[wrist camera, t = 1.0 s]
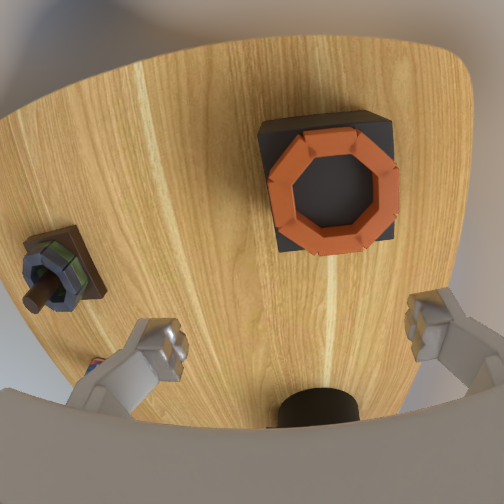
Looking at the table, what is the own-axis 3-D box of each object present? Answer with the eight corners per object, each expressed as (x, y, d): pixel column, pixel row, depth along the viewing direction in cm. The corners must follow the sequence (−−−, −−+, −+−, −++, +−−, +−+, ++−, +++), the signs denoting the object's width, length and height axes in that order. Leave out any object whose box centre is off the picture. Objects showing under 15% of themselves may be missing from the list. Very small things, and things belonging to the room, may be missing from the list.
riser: (262, 121, 22) (257, 134, 17) (367, 110, 21) (392, 120, 16) (279, 216, 27) (278, 252, 22) (373, 205, 25) (394, 239, 20)
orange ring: (260, 137, 17) (259, 141, 16) (389, 124, 16) (397, 127, 15) (281, 250, 22) (281, 261, 20) (391, 237, 20) (397, 247, 19)
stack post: (29, 237, 31) (-10, 273, 24) (76, 224, 29) (33, 266, 22) (59, 294, 35) (29, 334, 28) (107, 291, 34) (77, 338, 27)
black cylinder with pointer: (363, 377, 40) (369, 419, 33) (353, 432, 48) (355, 466, 41) (266, 383, 43) (260, 424, 36) (277, 436, 51) (274, 469, 44)
